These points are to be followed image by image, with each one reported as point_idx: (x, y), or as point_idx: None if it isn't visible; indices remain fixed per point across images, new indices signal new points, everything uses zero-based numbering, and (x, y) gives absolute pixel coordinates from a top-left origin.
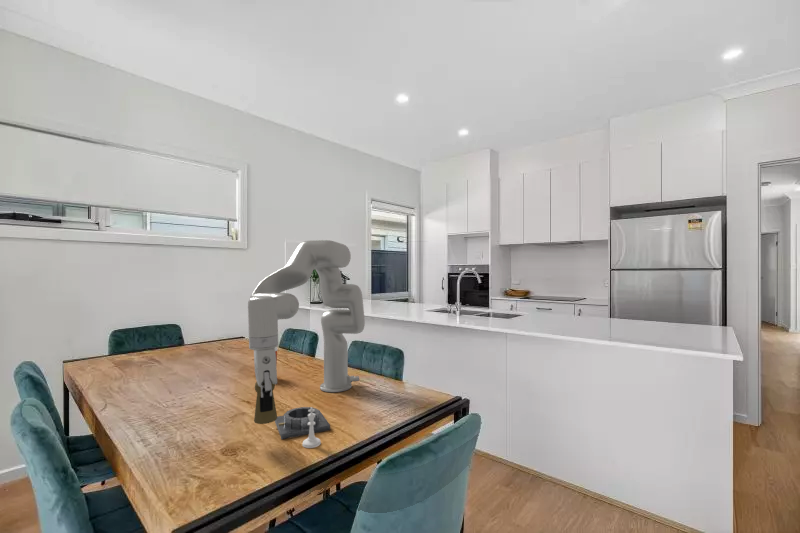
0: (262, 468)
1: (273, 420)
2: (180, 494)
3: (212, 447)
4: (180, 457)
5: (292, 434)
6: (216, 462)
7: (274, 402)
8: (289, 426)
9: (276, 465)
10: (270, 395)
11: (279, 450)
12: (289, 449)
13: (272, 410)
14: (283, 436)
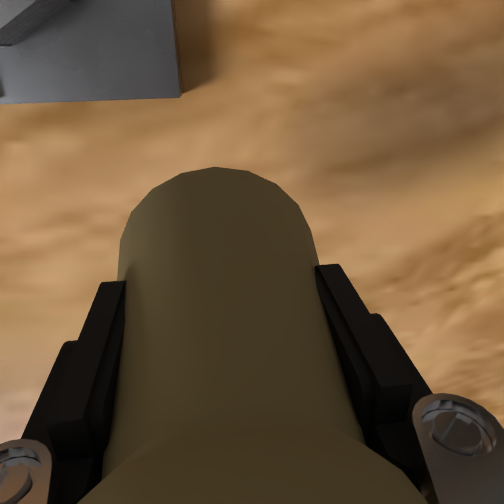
0: (477, 221)
1: (297, 207)
2: None
3: None
4: None
5: (172, 8)
6: None
7: (261, 264)
8: (51, 14)
9: (492, 157)
10: (487, 431)
11: (333, 124)
12: (351, 62)
13: (309, 255)
14: (180, 82)
